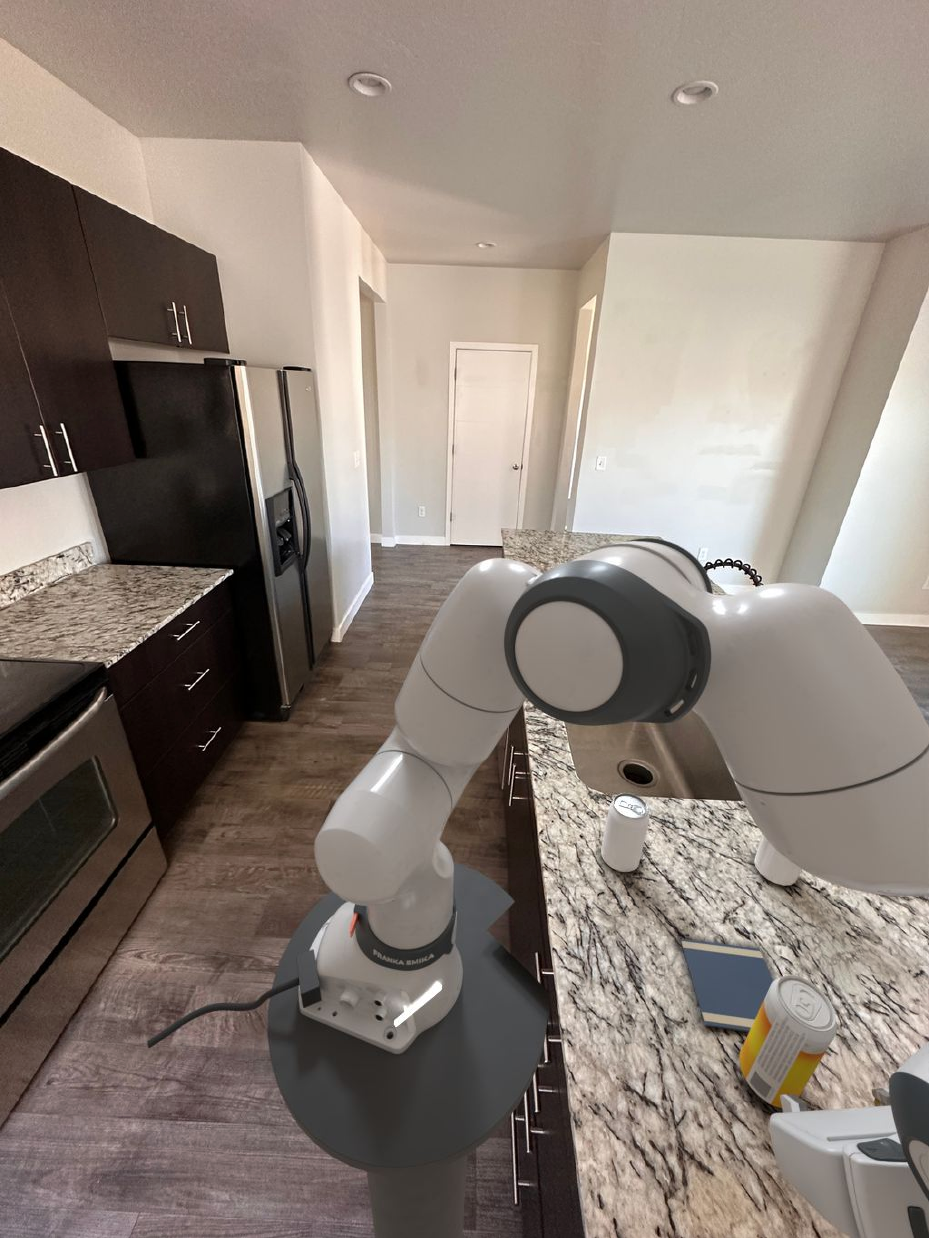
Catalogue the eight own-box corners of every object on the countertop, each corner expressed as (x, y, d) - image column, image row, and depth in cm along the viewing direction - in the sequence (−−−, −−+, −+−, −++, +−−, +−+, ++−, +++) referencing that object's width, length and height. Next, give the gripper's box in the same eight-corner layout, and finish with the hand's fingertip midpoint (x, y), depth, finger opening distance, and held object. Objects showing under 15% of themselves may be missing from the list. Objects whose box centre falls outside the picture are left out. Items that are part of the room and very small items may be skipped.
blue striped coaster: (704, 1026, 62) (705, 1024, 62) (680, 939, 72) (680, 938, 72) (796, 1039, 61) (797, 1037, 61) (758, 950, 71) (759, 948, 71)
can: (633, 880, 81) (646, 826, 76) (595, 862, 84) (605, 809, 79) (642, 852, 86) (655, 800, 81) (606, 836, 89) (616, 785, 84)
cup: (787, 853, 86) (812, 791, 81) (812, 895, 79) (842, 830, 73) (739, 848, 87) (761, 786, 81) (760, 889, 80) (785, 825, 74)
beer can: (802, 1077, 57) (846, 1002, 51) (788, 1126, 53) (833, 1051, 47) (747, 1033, 61) (781, 958, 55) (729, 1076, 57) (765, 1000, 51)
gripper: (1093, 1141, 37) (922, 1054, 49) (835, 1160, 35) (728, 1066, 48) (1138, 1259, 34) (946, 1135, 47) (863, 1284, 33) (743, 1150, 46)
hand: (834, 1100), depth 48 cm, fingers open, 8 cm apart
